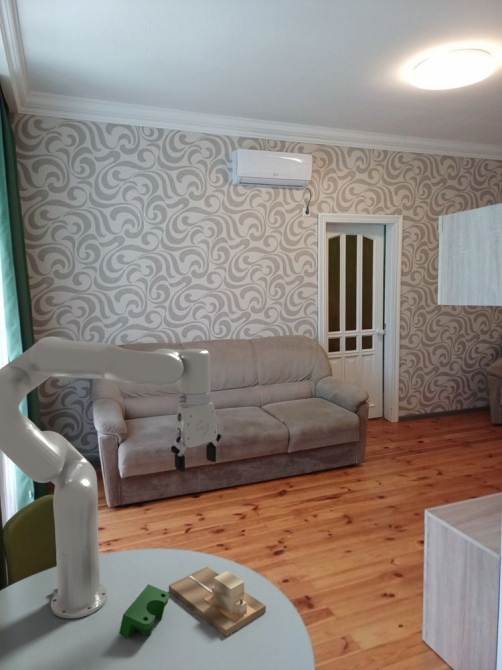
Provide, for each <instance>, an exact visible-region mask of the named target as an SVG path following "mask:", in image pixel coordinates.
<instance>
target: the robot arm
mask: <svg viewBox="0 0 502 670" xmlns="http://www.w3.org/2000/svg"><path fill="white" fill-rule="evenodd" d="M50 377H54V378H56V377H57V378H75V379H77V378H78V379H90V380H91V379H92V380H94V379H96V380H105V381H109V382H119V383H120V382H121V383H127V384H128V383H129V384H136V385H153V386H154V385H156V386H169V385H174V384H175V383H177V382H178V381H179V396H177V397H176V402H177V403H179V404H178V407H177V410H176V412H177V413H176V416H175V417H176V418H175V431H174V432H173V433H171V434H170V435H169V436H168V437H166V438H165V441H164V442H165V444H166V446H167V447H168V450H169V451H170V452H172V454H173V455H174V468H175V469H176V470H177V471H180V472H182V473H183V472H185V470H186V459H185V458H186V456H185V455H184V453H185V451H186V449H187V448H189V449H190V448H194V447H199V446H202V445H205V444H206V447H205V448H206V449H205V450H206V451H205V453H206V457H205V458H206V460H207V461H209V462H212V463H216V461H217V447H218V446H219V442H220V440H221V438H222V435H223V433H224V429H225V428H224V426H222V425H220V424H217V415H216V409H215V404H214V402H212V401H211V354H210V351H208V350H207V349H205V348H188V349H186V348H185V349H171V348H158V349H156V350H154V351H142V350H134V349H133V350H132V349H127V348H124V347H120V346H117V345H115V344H112V343H107V342H99V341H98V342H96V341H79V340H70V339H62V338H60V337H58V336H53V335H52V336H45V337H43V338H41V339H39V340H38V341H37V342H35V343H34V344H33V345H32V346H30V347H29V348H28V349H27V350H26V351H24V352H23V353H21V354H20V355H18V356H16V357H15V358H14V359H12V360H11V361H9V362H8V363H7V364H5V365H4V366H3V367H1V368H0V450H1V452H2V453H3V454H4V455H5V456H6V457H7V458H9V460H10V461H11V462H12V463H13V464H15V466H16V467H17V468H18V469H20V470H21V472H23V474H25V476H27V477H28V478H29V480H32V481H33V482H36V483H40V484H44V483H45V484H46V483H49V482H51V483H52V484H54V492H53V497H52V498H53V499H52V501H53V503H52V504H53V508H52V509H53V519H54V533H55V535H54V536H55V551H56V558H55V559H56V581H57V592H56V593H55V594H54V595H53V597H52V599H51V602H50V609H51V612H52V613H53V614H54V615H55V616H56V617H59V618H63V619H78V618H83V617H85V616H89V615H91V614H93V613H95V612H96V611H98V610H99V609H101V607H103V605H105V602H106V601H107V599H108V594H107V593H108V592H107V589H106V587H105V586H104V585H102V584H101V578H100V577H101V576H100V574H101V571H100V543H99V539H100V538H99V515H98V514H99V508H98V507H99V492H98V478H97V477H98V476H97V472H96V470H95V468H94V466H93V465H92V464H91V462H90V461H88V459H86V457H85V456H83V455H82V454H81V453H80V452H79V451H78V449H76V447H75V446H73V444H72V443H70V441H69V440H67V438H65V437H64V436H63V435H62V434H60V433H59V432H56V431H53V430H52V431H51V430H41V429H40V428H39V427H37V425H36V424H35V423H34V422H33V421H31V420H30V418H28V417H26V415H25V414H23V413H22V412H21V410H20V404H21V403H22V402H23V400H24V399H25V397H26V396H27V395H28V394H29V393H30V392H32V391H34V389H36V388H37V387H38V386H40V385H41V384H42V383H44V382H45V381H46V380H48V379H49V378H50ZM175 441H176V442H175ZM175 443H176V444H175Z"/></svg>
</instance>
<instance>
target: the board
mask: <svg viewBox="0 0 502 670" xmlns="http://www.w3.org/2000/svg"><path fill="white" fill-rule="evenodd" d="M218 575H220V574H219V573H218V572H216V571H215V570H213V569H211V568H210V567H208V566H206V567H203V568H201V569H199V570H197V571H195V572H193V573H191V574H189V575H187V576H185V577H182V578H180V579H179V580H177V581H175V582H173V583H170V584H169V585H168V592H170V593H171V594H172V595H173V596H174V597H176V598H177V599H178V600H180V601H181V602H182V603H183V604H184V605H186V606H187V607H188V608H189V609H191V610H192V611H193V612H194V613H196V614H197V615H198V616H199V617H200V618H202V619H203V620H204V621H206V622H207V623H208V624H209V625H211V626H212V627H213V628H215V629H216V630H217V631H218V632H219V633H221V635H224V636H225V637H226V638H227V637H228V636H230V635H231V634H233V633H235V632H236V631H237V630H239V629H241V628H243V626H245V625H247V624H249V623H250V622H251V621H254V620H256V618H258V617H260V616H261V615H263V614H265V613H266V611H267V606H266V604H264V603H262V602H261V601H260V600H258V599H256V597H254V596H252V595H250V594H249V593H247V592H246V591H245V590H244V601H245V602H246V603H247V613H246V614H244V615H242V616H241V617H240V616H238V615H237V614H236V613H233V614H230V613H228V612H227V611H225V610H224V609H223V608H221V607H220V606H219V605H217V604H216V603H215V602H214V597H212V587H213V586H214V577H216V576H218Z"/></svg>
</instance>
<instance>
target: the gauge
mask: <svg viewBox="0 0 502 670" xmlns="http://www.w3.org/2000/svg"><path fill="white" fill-rule="evenodd" d="M244 591H245V582H244V581H243V580H242V579H240V578H239V577H237V576H235V575H234V574H233V573H231V572H230V571H228V570H226V571H224V572H223V573H221V574H219V575H218V576H216V577H214V586H213V587H212V597H214V602H215V603H216V604H217V605H219V606H220V607H221V608H223V609H224V610H225V611H227V612H228V613H230V614H233V613H236V614H237V615H238V616H240V617H241V616H242V615H244V614H246V613H247V603H246V602H245V601H244Z"/></svg>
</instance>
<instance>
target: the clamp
mask: <svg viewBox="0 0 502 670" xmlns="http://www.w3.org/2000/svg"><path fill="white" fill-rule="evenodd" d="M169 599H170V594H169V593H168V592H166V591H165V590H163V589H160V588H158V587H155V586H154V585H151V584H147V585H146V586H145V588H144V589H143V590H142V591H141V592H140V594H139V595H138V596H137V597H136V599H134V601H133V602H132V603H131V605H130V606H129V607H128V608H127V609H126V610H125V611H124V613H123V614H122V619H121V622H120V629H119V634H118V635H120V636H123V637H124V638H127V639H130V638H131V636H132V635H133V634H134V632H135V631H136V630H137V631H138V632H141V633H143V634H144V635H147V636H152V633H153V629H154V626H155V625H154V624H155V620H158V621H162V619H163V617H164V616H163V615H164V611H165V607H166V606H167V604H168V603H169Z"/></svg>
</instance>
